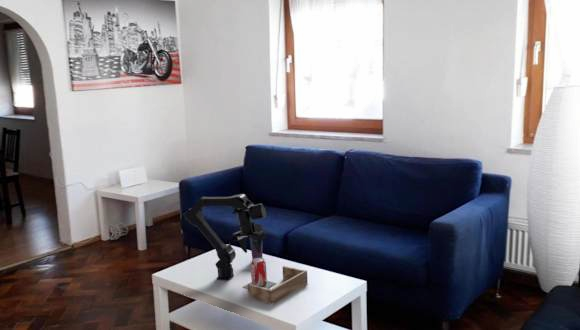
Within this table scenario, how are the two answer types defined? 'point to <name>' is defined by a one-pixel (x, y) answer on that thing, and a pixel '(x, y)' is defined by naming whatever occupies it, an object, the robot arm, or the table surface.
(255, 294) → the crate
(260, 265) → the soda can
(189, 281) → the table surface
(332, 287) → the table surface
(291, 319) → the table surface
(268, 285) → the mat
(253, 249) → the cup
